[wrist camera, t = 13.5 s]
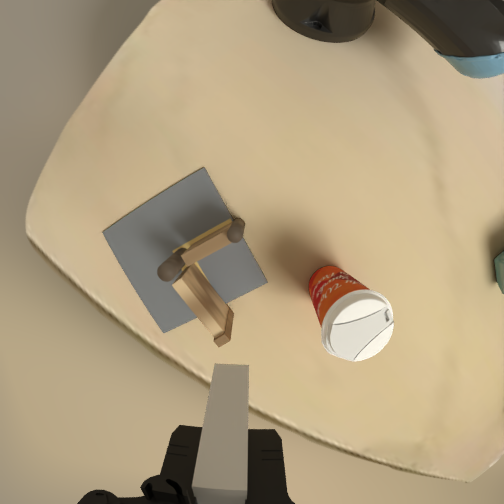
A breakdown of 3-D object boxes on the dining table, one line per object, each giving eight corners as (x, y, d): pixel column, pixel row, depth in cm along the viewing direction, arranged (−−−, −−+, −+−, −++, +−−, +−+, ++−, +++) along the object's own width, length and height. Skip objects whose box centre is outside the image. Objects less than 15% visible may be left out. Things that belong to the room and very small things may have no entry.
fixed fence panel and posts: (173, 251, 38) (153, 268, 30) (240, 214, 37) (237, 222, 29) (181, 264, 38) (163, 284, 30) (247, 228, 37) (246, 239, 29)
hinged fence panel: (184, 268, 38) (169, 287, 30) (194, 261, 38) (180, 279, 30) (224, 319, 39) (218, 347, 32) (233, 313, 39) (230, 340, 32)
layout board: (103, 232, 37) (102, 232, 37) (204, 167, 36) (204, 167, 35) (164, 332, 41) (163, 333, 40) (267, 281, 39) (267, 282, 38)
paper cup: (339, 247, 38) (383, 278, 24) (362, 292, 39) (406, 338, 26) (289, 277, 39) (308, 323, 25) (315, 320, 40) (341, 378, 26)
